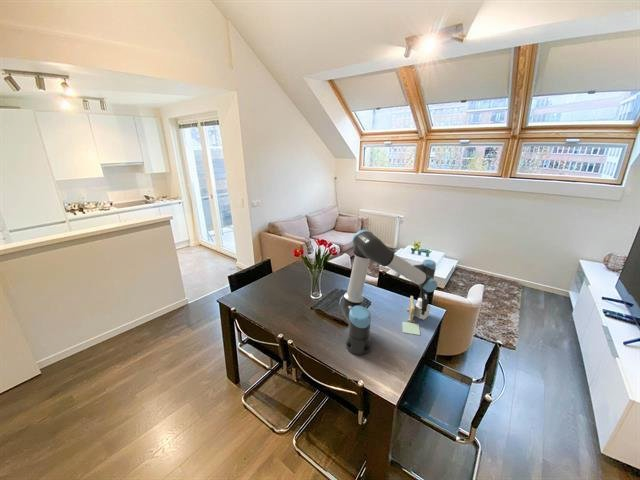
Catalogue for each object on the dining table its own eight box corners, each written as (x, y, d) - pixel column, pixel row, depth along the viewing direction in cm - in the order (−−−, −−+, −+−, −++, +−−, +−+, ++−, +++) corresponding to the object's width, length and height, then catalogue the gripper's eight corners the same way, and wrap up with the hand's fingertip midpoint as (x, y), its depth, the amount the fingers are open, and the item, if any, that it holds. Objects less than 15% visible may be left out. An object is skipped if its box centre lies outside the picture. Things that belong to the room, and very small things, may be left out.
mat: (402, 332, 162) (402, 332, 162) (402, 322, 171) (402, 321, 171) (420, 335, 160) (420, 334, 160) (418, 324, 169) (418, 324, 169)
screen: (407, 322, 171) (409, 307, 167) (407, 309, 184) (408, 295, 180) (414, 322, 170) (416, 308, 166) (413, 309, 183) (415, 296, 179)
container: (417, 310, 180) (420, 293, 175) (429, 315, 175) (432, 298, 170) (412, 315, 175) (415, 298, 170) (423, 320, 170) (426, 303, 165)
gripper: (435, 294, 155) (429, 324, 163) (430, 275, 175) (425, 303, 183) (421, 292, 157) (416, 322, 165) (418, 274, 177) (413, 302, 185)
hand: (421, 312), depth 174 cm, fingers closed on container, 10 cm apart
